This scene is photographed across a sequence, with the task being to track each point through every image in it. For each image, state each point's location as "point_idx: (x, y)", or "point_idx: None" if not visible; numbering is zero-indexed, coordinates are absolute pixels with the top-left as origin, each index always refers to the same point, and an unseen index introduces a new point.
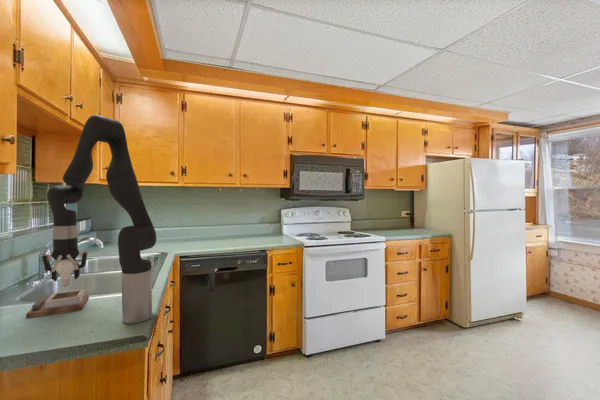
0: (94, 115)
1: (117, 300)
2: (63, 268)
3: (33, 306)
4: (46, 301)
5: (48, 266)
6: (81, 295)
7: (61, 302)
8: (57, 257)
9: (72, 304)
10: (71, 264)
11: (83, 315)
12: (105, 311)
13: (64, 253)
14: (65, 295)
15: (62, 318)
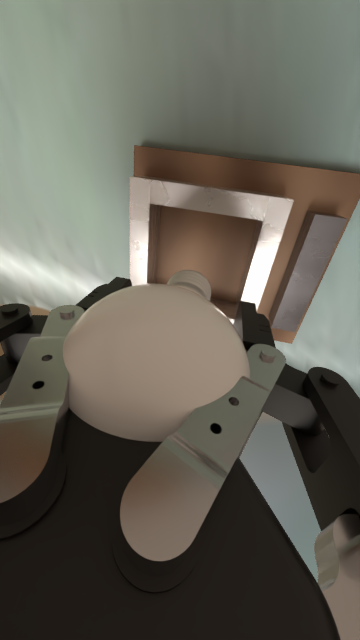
0: None
1: (25, 201)
2: (164, 291)
3: (339, 216)
4: (287, 199)
5: (324, 404)
6: (130, 219)
7: (217, 187)
8: (220, 516)
9: (173, 180)
10: (73, 328)
11: (120, 24)
12: (27, 29)
13: (61, 591)
14: None
15: (215, 39)
